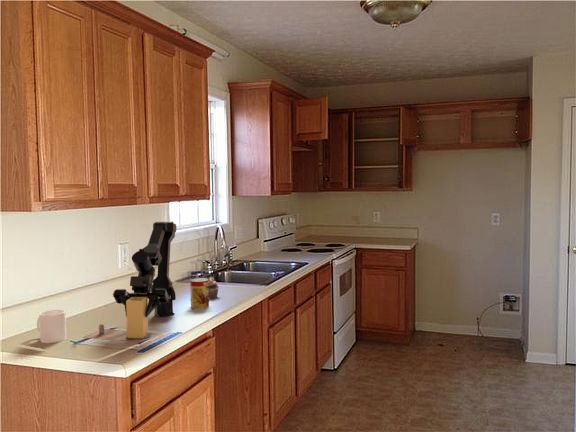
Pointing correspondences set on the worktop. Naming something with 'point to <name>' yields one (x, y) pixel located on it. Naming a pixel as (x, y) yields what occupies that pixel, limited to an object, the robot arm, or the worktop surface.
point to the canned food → (199, 293)
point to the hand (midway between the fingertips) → (136, 316)
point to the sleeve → (137, 317)
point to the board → (115, 335)
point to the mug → (52, 326)
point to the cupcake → (212, 287)
